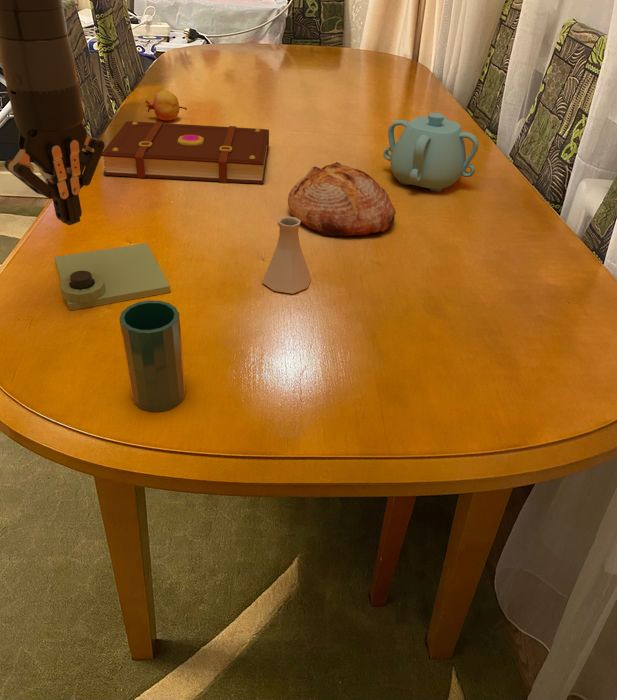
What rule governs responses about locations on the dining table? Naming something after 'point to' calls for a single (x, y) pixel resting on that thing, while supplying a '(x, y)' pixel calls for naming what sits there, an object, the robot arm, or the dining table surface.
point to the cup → (153, 354)
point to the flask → (288, 260)
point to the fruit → (165, 105)
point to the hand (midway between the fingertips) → (70, 221)
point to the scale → (112, 276)
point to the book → (188, 152)
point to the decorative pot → (430, 152)
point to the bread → (341, 202)
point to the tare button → (81, 280)
